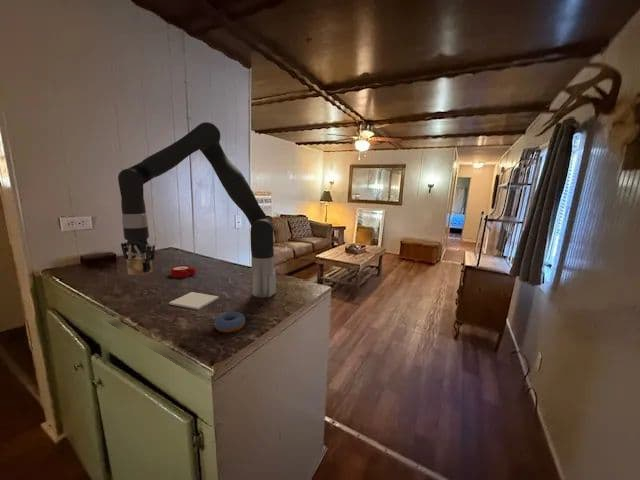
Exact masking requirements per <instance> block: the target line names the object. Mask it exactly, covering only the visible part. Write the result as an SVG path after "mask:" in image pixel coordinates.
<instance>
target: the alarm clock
mask: <svg viewBox="0 0 640 480" xmlns="http://www.w3.org/2000/svg"><path fill="white" fill-rule="evenodd" d="M167 271H170V274H169V276H170V277H171V278H180V279H185V278H187V277H188V276H195V275H196V273H197V270H196V267H191V266H190V265H187V264H181V265H175V266H172V267H171V268H170V269H167Z"/></svg>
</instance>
